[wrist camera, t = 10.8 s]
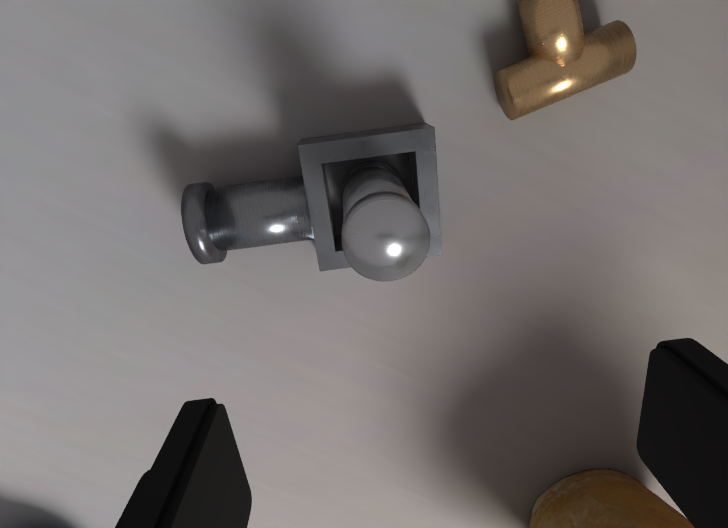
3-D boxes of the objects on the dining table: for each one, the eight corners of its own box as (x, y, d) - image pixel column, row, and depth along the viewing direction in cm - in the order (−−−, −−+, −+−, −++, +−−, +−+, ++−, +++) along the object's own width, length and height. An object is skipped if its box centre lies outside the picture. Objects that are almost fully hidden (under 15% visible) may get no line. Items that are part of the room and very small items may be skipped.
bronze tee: (503, 118, 28) (520, 122, 26) (476, 20, 26) (492, 12, 24) (609, 73, 28) (639, 72, 25) (592, -31, 26) (622, -45, 23)
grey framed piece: (425, 122, 28) (441, 131, 24) (433, 239, 31) (449, 266, 27) (193, 153, 28) (164, 168, 24) (224, 267, 31) (204, 299, 27)
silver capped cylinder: (400, 157, 29) (428, 192, 20) (406, 218, 31) (433, 276, 22) (337, 165, 29) (335, 205, 20) (346, 226, 31) (348, 288, 22)
